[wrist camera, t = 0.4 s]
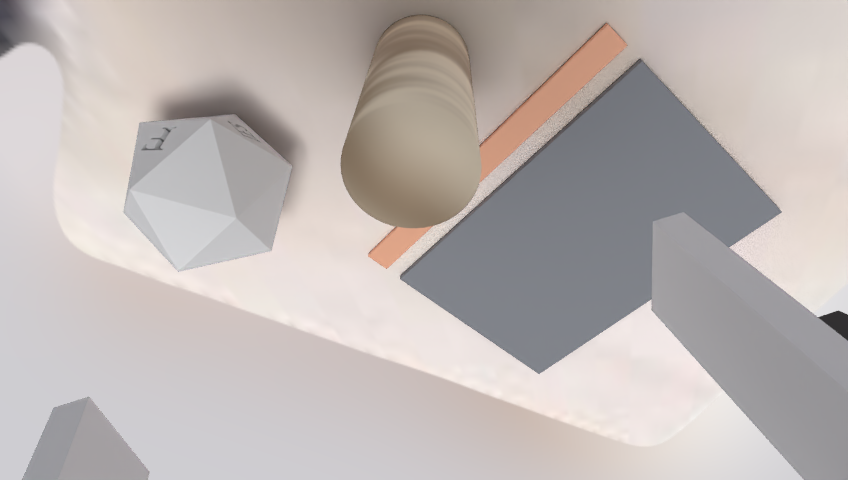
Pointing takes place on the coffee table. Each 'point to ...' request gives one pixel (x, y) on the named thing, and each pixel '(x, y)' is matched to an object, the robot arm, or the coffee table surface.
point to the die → (205, 189)
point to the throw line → (522, 124)
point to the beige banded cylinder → (414, 128)
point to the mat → (587, 223)
